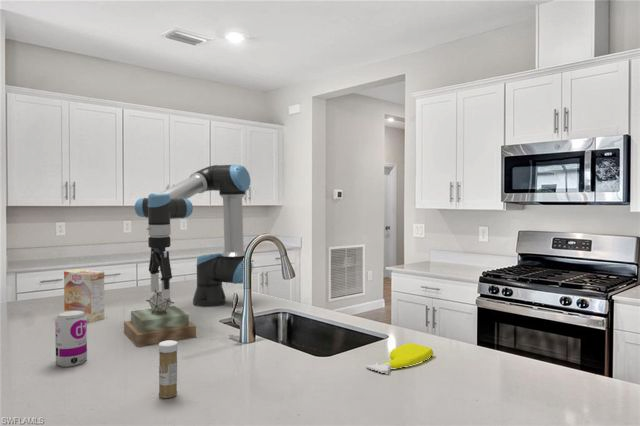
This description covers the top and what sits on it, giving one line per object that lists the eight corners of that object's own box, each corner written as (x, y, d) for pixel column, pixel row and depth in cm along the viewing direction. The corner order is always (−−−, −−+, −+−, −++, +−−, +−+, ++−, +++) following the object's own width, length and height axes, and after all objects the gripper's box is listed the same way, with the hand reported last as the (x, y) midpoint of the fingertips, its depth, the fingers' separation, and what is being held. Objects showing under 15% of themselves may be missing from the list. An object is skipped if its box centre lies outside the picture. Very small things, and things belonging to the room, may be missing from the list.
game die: (165, 321, 169) (182, 298, 172) (157, 319, 161) (175, 294, 164) (146, 308, 171) (163, 285, 173) (137, 305, 163) (155, 281, 165)
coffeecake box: (63, 318, 188) (63, 271, 187) (78, 314, 194) (78, 268, 194) (90, 322, 182) (90, 273, 181) (105, 318, 189) (105, 271, 188)
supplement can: (92, 360, 140) (92, 311, 140) (68, 369, 133) (67, 317, 133) (74, 356, 144) (74, 308, 143) (49, 364, 136) (49, 314, 136)
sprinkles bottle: (155, 395, 116) (155, 342, 116) (171, 389, 120) (171, 338, 119) (165, 400, 113) (164, 346, 113) (181, 394, 117) (181, 342, 116)
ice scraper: (436, 358, 147) (391, 380, 129) (407, 350, 154) (361, 370, 137) (436, 349, 147) (391, 370, 129) (407, 341, 154) (361, 360, 136)
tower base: (178, 324, 181) (178, 303, 181) (196, 337, 165) (196, 314, 164) (124, 332, 170) (123, 310, 169) (137, 347, 153) (137, 323, 153)
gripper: (139, 234, 174) (140, 289, 175) (158, 239, 154) (159, 302, 155) (159, 233, 178) (160, 287, 179) (181, 238, 158) (181, 299, 159)
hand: (160, 294), depth 167 cm, fingers open, 13 cm apart
